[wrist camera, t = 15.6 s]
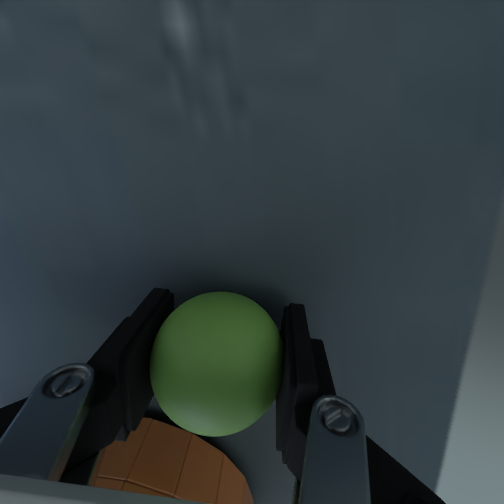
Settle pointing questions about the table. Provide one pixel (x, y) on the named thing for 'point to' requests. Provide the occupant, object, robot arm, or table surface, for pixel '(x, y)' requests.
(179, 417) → the pea ball
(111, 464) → the bowl
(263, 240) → the table surface
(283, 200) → the table surface
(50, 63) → the table surface
